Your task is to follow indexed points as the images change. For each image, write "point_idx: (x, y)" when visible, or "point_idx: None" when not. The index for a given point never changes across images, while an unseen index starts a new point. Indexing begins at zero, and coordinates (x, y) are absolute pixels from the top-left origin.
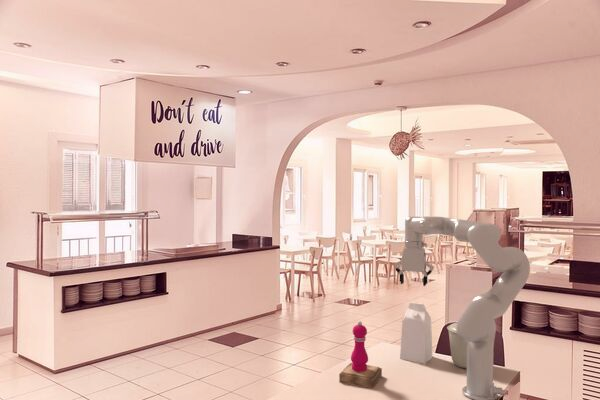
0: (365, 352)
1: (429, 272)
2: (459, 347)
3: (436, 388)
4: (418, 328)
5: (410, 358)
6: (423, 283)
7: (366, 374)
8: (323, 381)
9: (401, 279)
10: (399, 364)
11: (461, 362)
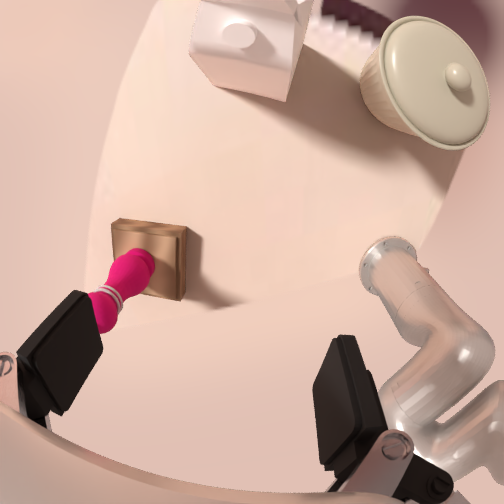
0: (136, 288)
1: (401, 500)
2: (396, 125)
3: (310, 259)
4: (263, 73)
5: (243, 90)
6: (317, 404)
7: (162, 288)
8: (102, 283)
9: (78, 379)
10: (216, 130)
11: (383, 123)
